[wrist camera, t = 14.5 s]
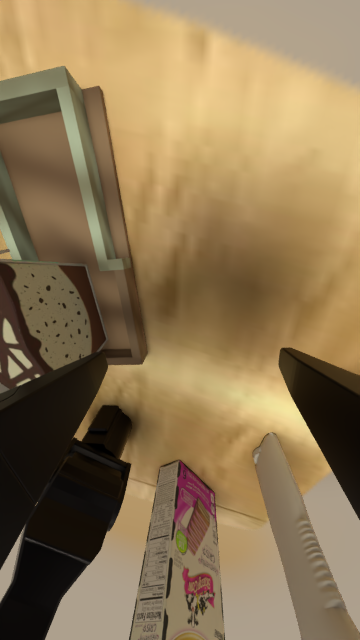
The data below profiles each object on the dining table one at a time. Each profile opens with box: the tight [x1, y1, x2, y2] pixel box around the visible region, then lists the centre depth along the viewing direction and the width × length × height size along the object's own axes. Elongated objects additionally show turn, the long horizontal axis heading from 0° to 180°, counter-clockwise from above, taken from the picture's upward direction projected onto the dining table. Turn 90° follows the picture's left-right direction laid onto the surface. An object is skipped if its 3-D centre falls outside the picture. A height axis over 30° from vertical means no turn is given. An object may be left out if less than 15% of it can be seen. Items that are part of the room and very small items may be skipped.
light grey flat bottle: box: [253, 433, 360, 640], centre depth 18 cm, size 11×4×22 cm, turn 179°
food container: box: [0, 249, 109, 393], centre depth 17 cm, size 12×6×10 cm, turn 6°
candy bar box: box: [129, 460, 225, 640], centre depth 25 cm, size 11×5×16 cm, turn 38°
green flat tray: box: [0, 66, 148, 365], centre depth 19 cm, size 25×13×2 cm, turn 5°
